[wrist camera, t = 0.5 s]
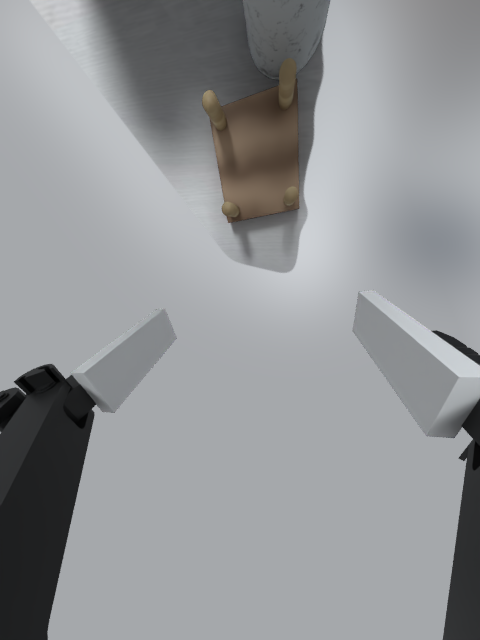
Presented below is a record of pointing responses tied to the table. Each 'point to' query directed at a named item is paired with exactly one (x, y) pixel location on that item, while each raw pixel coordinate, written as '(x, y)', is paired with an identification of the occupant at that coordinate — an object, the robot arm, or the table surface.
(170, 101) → the table surface
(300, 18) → the grey marbled cylinder
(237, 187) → the peg stand
